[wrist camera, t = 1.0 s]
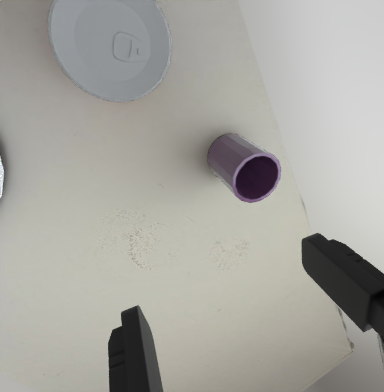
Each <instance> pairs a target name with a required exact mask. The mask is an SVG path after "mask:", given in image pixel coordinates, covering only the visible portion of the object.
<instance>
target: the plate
mask: <svg viewBox="0 0 384 392" xmlns="http://www.w3.org/2000/svg"><path fill="white" fill-rule="evenodd" d="M3 181H4V167H3V163H2V159H1V155H0V198H1V196H2V193H3Z"/></svg>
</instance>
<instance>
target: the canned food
mask: <svg viewBox="0 0 384 392" xmlns="http://www.w3.org/2000/svg"><path fill="white" fill-rule="evenodd" d="M48 33H49V40H50V44H51V48H52V51H53V53H54V56H55V58H56V60H57V62H58V64H59V65H60V67H61V68H62V70H63V71H64V73H65V74H66V75H67V76H68V77H69V78H70V79H71V80H72V82H73V83H74V84H75V85H77V86H78V87H80V88H81V89H82V90H84V91H85V92H87V93H89V94H91V95H93V96H95V97H97V98H100V99H103V100H106V101H113V102H127V101H132V100H136V99H139V98H141V97H143V96H145V95H147V94H149V93H150V92H151V91H152V90H154V89H155V88H156V87H157V86H158V85H159V83H160V82H161V81H162V80H163V78H164V76H165V74H166V72H167V70H168V67H169V63H170V60H171V51H172V43H171V34H170V30H169V26H168V22H167V20H166V18H165V16H164V13H163V11H162V9H161V8H160V6H159V5H158V3H157V2H156V0H53V3H52V5H51V8H50V11H49V19H48Z"/></svg>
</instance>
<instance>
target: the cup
mask: <svg viewBox="0 0 384 392" xmlns="http://www.w3.org/2000/svg"><path fill="white" fill-rule="evenodd" d="M208 164H209V167H210V169H211V170H212V171H213V173H214V174H215V175H216V176H217V177H218V178H219V179H220V180H221V181H222V182H223V183H224V184H225V185H226V186H227V187H228V188H229V189H230V190H231V191H232V193H233V194H234V195H235V196H236V197H238V198H239V199H240V200H241V201H245V202H249V203H252V202H257V201H260V200H262V199H264V198H266V197H267V196H269V195H270V194H271V193H272V192H273V191H274V189H275V188H276V186H277V184H278V182H279V180H280V176H281V167H280V163H279V161H278V160H277V158H276V157H275V156H274V155H272V154H271V153H269V152H267V151H266V150H264V149H262V148H260V147H259V146H257V145H255V144H254V143H252V142H250V141H249V140H247V139H245V138H244V137H241V136H239V135H237V134H226V135H223V136H221V137H219V138H218V139H217V140H216V141H215V142H214V143H213V144H212V146H211V147H210V149H209V152H208Z"/></svg>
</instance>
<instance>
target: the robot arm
mask: <svg viewBox="0 0 384 392" xmlns="http://www.w3.org/2000/svg"><path fill="white" fill-rule="evenodd" d="M302 264H303V267H304V269H305V271H306V272H307V274H308V275H309V276H310V277H311V278H312V279H313V280H314V281H315V282H316V283H317V284H318V285H319V286H320V287H321V288H322V289H323V290H324V291H325V292H326V293H327V295H328V296H329V297H330V298H331V299H332V300H333V301H334V302H335V303H336V304H337V305H338V306H339V307H340V308H341V309H342V310H343V311H344V312H345V313H346V314H347V315H348V317H349V318H350V319H351V320H352V321H353V322H354V323H355V324H356V325H357V326H358V327H359V328H360V329H361V330H362V331H363V332H365V331H367V330H370V329H371V328H373V329H374V330H375V331H376V332H377V333H378V335H377V338H378V342H379V348H380V353H381V358H382V363H383V368H384V274H383V273H382V272H381V271H379V270H378V269H377V268H375V267H374V266H373V265H372V264H370V263H369V262H368V261H366V260H364V259H363V258H362V257H361V256H360V255H359V254H357V253H355V252H354V251H353V250H352V249H350V248H349V247H348V246H347V245H346V244H343V243H341V242H338V241H336V240H333V239H332V240H330V241H329V240H327V239H326V238H325V237H324V236H322V235H321V234H319V233H316V234H313V235H311V236H308V237H306V238H304V239H302ZM121 320H122V326H121V327H118V328H116V329H113V330H112V333H111V336H110V339H109V342H108V355H109V388H110V392H163V388H162V382H161V377H160V372H159V367H158V361H157V356H156V351H155V346H154V340H153V336H152V333H151V330H150V327H149V325H148V323H147V321H146V319H145V317H144V315H143V313H142V311H141V309H140V307H139V305H137V306H135V307H132V308H130V309H127V310H125V311H122V312H121Z"/></svg>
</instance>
